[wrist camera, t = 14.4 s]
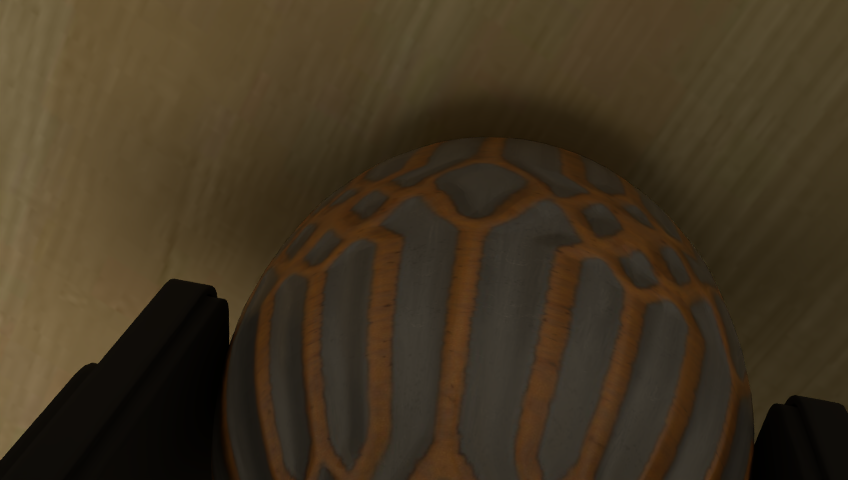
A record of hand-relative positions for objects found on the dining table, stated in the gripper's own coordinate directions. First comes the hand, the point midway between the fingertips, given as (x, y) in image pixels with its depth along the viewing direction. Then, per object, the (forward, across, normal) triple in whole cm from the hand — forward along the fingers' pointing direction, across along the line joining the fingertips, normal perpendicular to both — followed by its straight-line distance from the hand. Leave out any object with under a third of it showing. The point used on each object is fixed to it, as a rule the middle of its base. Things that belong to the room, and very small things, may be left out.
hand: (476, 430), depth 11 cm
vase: (+4, 0, 0) cm, 4 cm away
